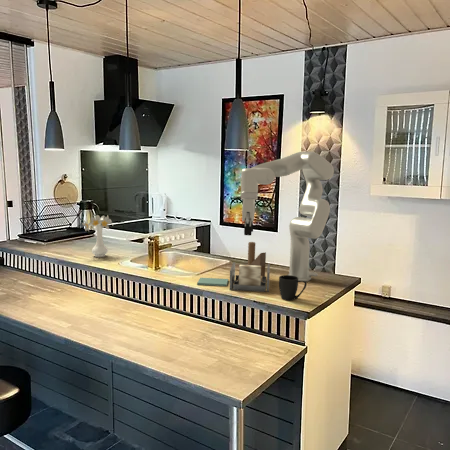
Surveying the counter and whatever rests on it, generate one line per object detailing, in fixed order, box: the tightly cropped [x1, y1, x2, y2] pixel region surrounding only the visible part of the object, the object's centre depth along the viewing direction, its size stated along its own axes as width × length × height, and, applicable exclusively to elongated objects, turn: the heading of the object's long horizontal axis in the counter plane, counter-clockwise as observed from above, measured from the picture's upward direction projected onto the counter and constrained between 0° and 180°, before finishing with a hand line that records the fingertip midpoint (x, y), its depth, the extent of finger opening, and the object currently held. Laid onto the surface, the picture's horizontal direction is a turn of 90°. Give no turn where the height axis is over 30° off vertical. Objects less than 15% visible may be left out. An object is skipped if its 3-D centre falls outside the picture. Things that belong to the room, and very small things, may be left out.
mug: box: [278, 274, 308, 302], centre depth 192 cm, size 8×12×10 cm
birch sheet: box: [238, 264, 261, 286], centre depth 207 cm, size 10×2×11 cm, turn 84°
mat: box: [196, 277, 229, 287], centre depth 216 cm, size 14×10×1 cm
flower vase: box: [81, 214, 114, 258], centre depth 267 cm, size 13×18×25 cm
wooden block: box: [247, 241, 267, 277], centre depth 226 cm, size 4×11×18 cm, turn 39°
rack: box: [229, 261, 271, 293], centre depth 212 cm, size 18×18×9 cm
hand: (248, 233), depth 203 cm, fingers open, 9 cm apart
